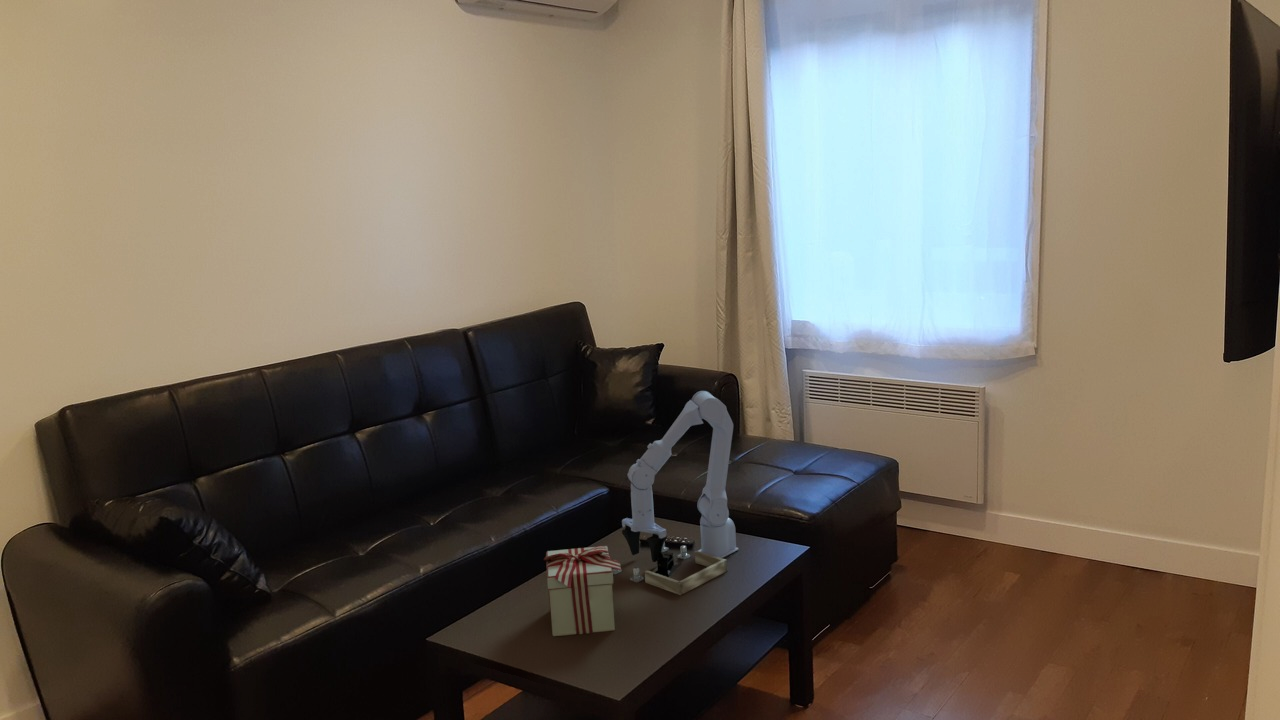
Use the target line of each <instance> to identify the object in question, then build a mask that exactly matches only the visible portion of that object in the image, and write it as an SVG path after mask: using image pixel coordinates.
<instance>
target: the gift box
mask: <svg viewBox="0 0 1280 720" xmlns="http://www.w3.org/2000/svg"><path fill="white" fill-rule="evenodd" d="M615 560H616V559H611V557H610V553H609V547H608V545H599V546H591V547H578V548H569V549H557V550H547V551H546V552H545V557H544V558H543V561H545V562H546V566H545V568H546V578H547V579H546V580H547V590H548V602H549V613H550V622H551V631H552V632H551V634H552V637H563V636H573V635H574V636H575V635H583V634H593V633H595V634H596V633H603V632H606V633H607V632H613V631H615V628H616V625H615V615H614V614H615V612H614V601H613V600H614V599H613V598H614V597H613V596H614V595H613V594H614V593H613V584H614V574H613V572H612V569H617V570H621V569H622V567H621V562H620V561H618V560H617V561H615Z"/></svg>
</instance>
